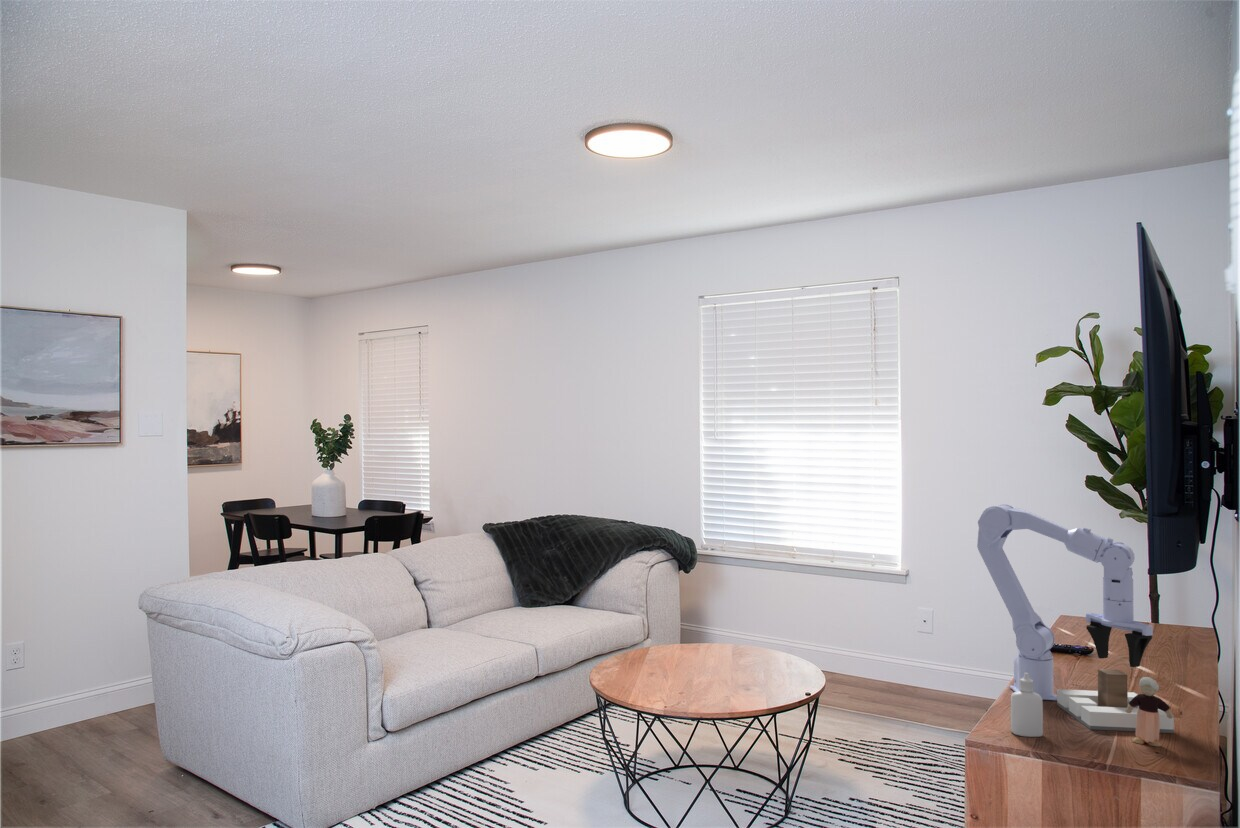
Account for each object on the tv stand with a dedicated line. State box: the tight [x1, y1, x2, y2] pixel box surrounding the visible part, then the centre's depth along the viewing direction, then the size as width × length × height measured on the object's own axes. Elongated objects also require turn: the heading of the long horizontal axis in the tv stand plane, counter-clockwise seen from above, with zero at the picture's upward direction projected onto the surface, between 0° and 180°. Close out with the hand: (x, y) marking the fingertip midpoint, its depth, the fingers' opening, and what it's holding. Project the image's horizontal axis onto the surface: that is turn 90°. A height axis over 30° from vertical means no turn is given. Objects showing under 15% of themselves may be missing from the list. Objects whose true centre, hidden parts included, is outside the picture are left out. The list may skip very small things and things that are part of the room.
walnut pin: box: [1097, 668, 1128, 708], centre depth 178 cm, size 4×4×9 cm
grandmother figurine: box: [1126, 676, 1174, 747], centre depth 163 cm, size 8×4×13 cm, turn 69°
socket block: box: [1056, 688, 1175, 734], centre depth 177 cm, size 16×16×4 cm
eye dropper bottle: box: [1010, 673, 1044, 738], centre depth 167 cm, size 4×6×12 cm
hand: (1118, 662), depth 183 cm, fingers open, 7 cm apart
